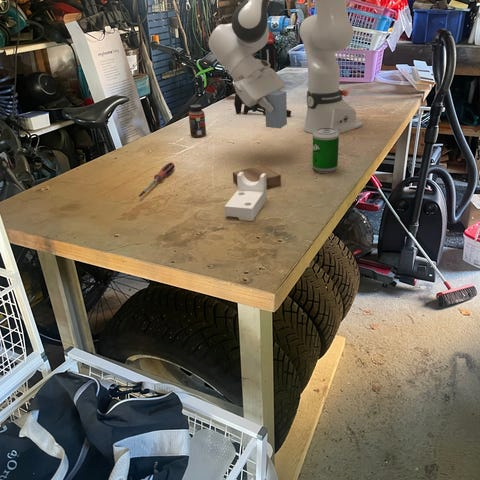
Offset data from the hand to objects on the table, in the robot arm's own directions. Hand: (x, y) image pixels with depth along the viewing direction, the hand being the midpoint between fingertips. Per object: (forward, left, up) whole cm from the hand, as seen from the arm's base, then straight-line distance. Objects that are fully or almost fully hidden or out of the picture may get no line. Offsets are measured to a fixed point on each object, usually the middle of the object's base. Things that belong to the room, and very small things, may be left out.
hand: (277, 108), depth 145 cm
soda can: (-6, +15, -17) cm, 24 cm away
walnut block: (+16, +12, -17) cm, 26 cm away
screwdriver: (+39, -5, -17) cm, 43 cm away
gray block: (0, -1, -5) cm, 5 cm away
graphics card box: (-49, -87, -17) cm, 101 cm away
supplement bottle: (+10, -42, -17) cm, 46 cm away
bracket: (+26, +25, -17) cm, 40 cm away
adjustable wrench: (-25, -51, -17) cm, 59 cm away
